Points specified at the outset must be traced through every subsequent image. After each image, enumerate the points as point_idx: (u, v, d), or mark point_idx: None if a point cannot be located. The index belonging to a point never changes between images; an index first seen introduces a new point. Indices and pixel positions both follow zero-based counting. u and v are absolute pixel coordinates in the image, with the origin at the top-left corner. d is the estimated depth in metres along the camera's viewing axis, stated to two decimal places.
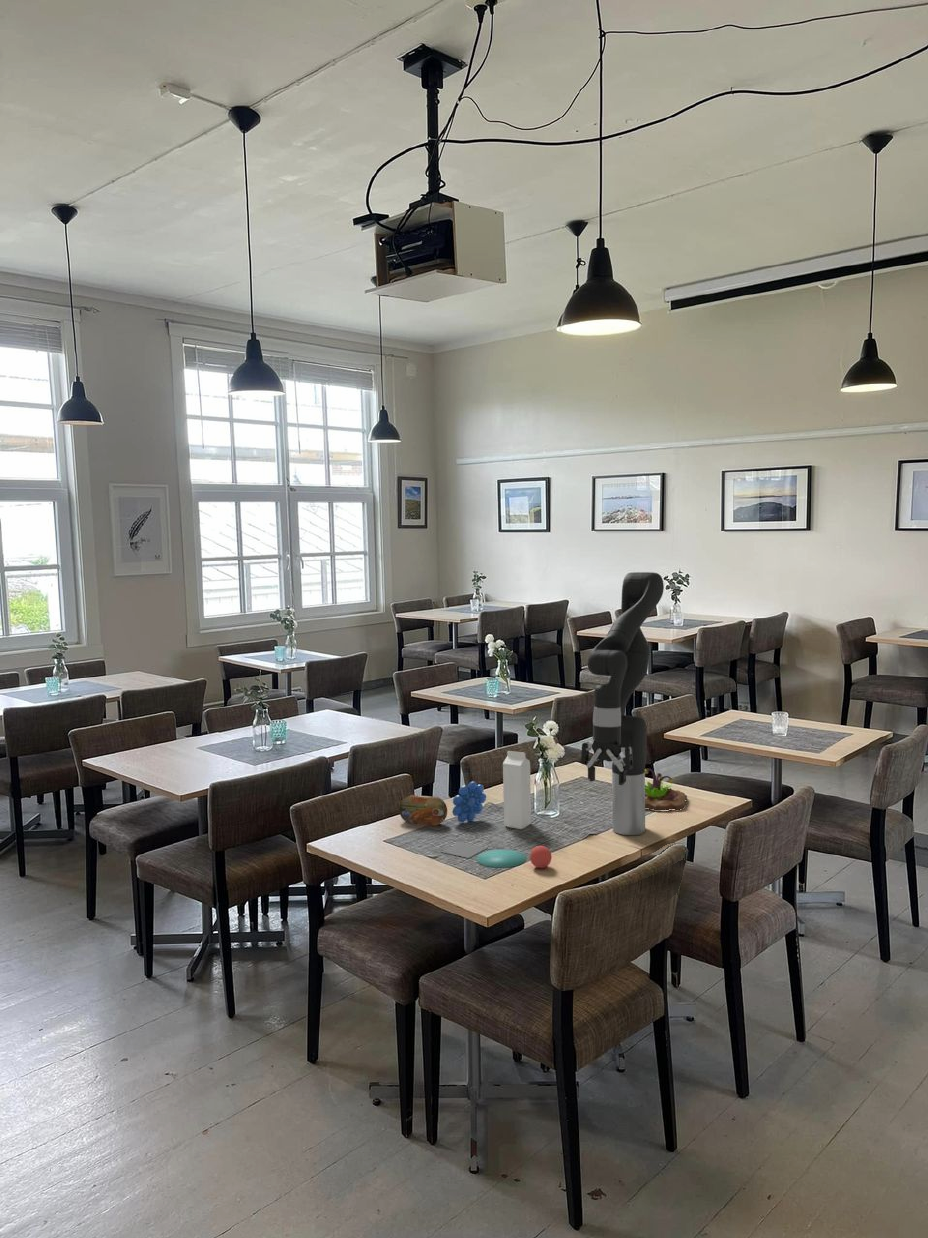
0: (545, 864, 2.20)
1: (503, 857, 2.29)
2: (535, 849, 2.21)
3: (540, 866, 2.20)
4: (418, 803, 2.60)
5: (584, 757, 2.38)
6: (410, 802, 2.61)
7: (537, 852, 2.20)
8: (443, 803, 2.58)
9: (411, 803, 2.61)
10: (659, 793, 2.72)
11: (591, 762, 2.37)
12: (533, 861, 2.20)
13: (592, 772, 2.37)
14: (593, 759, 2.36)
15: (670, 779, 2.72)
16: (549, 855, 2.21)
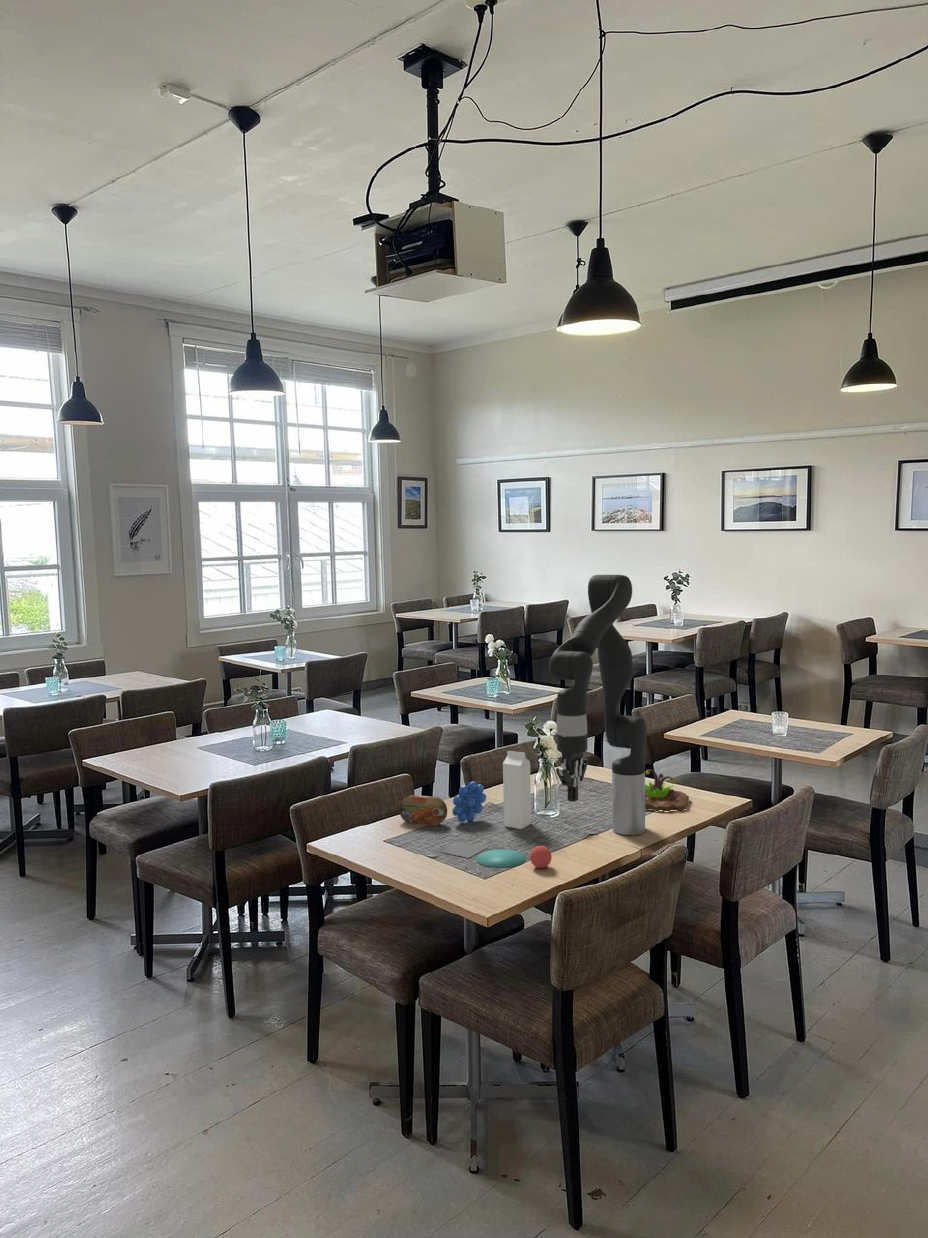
0: (545, 864, 2.20)
1: (503, 857, 2.29)
2: (535, 849, 2.21)
3: (540, 866, 2.20)
4: (418, 803, 2.60)
5: (570, 779, 2.11)
6: (410, 802, 2.61)
7: (537, 852, 2.20)
8: (443, 803, 2.58)
9: (411, 803, 2.61)
10: (661, 794, 2.72)
11: (575, 780, 2.13)
12: (533, 861, 2.20)
13: None
14: (576, 775, 2.13)
15: (672, 780, 2.72)
16: (549, 855, 2.21)
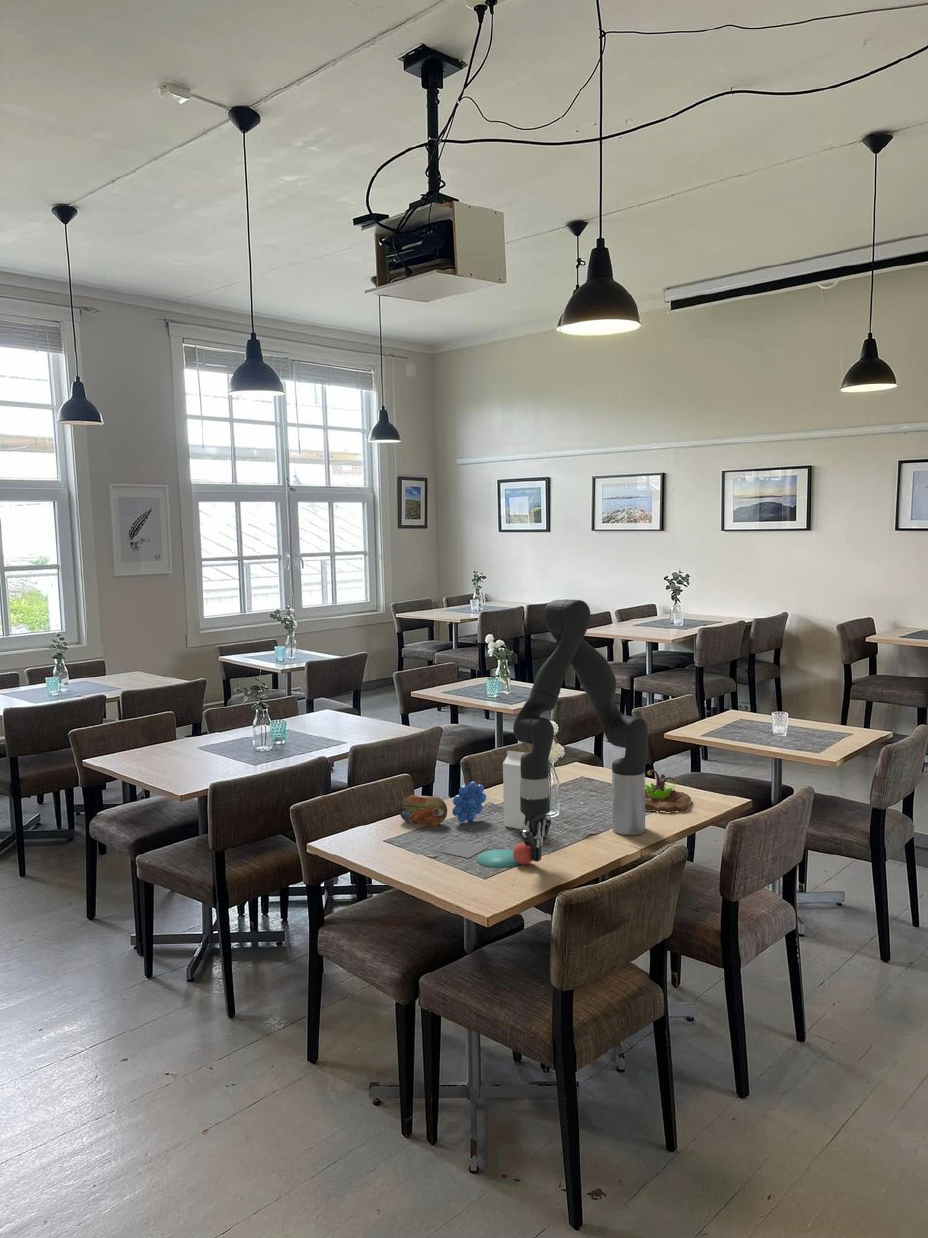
0: (527, 851, 2.22)
1: (503, 857, 2.29)
2: (513, 853, 2.25)
3: (526, 857, 2.22)
4: (418, 803, 2.60)
5: (533, 840, 2.19)
6: (410, 802, 2.61)
7: (514, 851, 2.24)
8: (443, 803, 2.58)
9: (411, 803, 2.61)
10: (662, 794, 2.71)
11: (538, 841, 2.21)
12: (519, 860, 2.23)
13: None
14: (539, 836, 2.20)
15: (674, 780, 2.71)
16: (524, 843, 2.24)
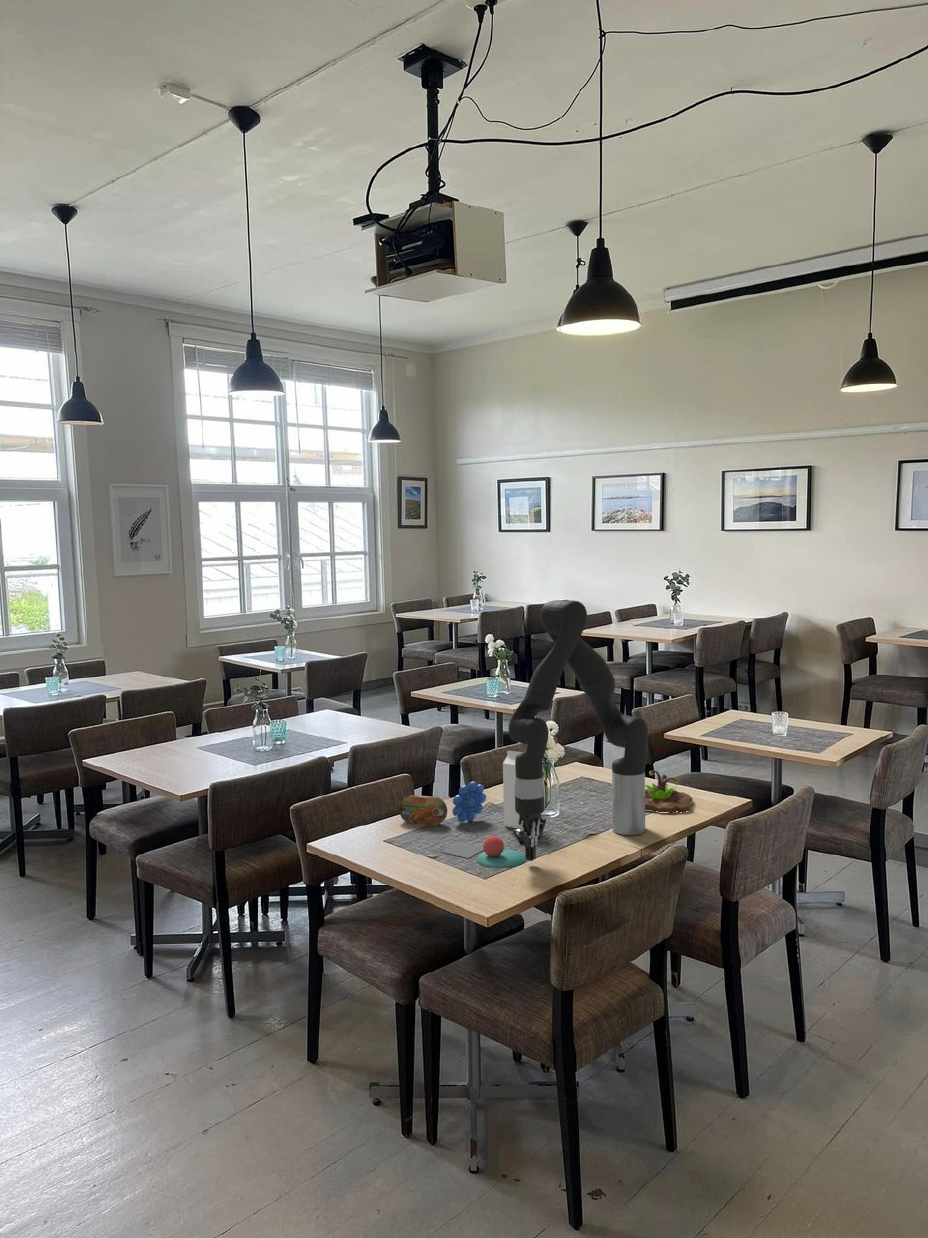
0: None
1: (503, 857, 2.29)
2: (496, 848, 2.28)
3: None
4: (418, 803, 2.60)
5: (527, 839, 2.20)
6: (410, 802, 2.61)
7: (493, 851, 2.28)
8: (443, 803, 2.58)
9: (411, 803, 2.61)
10: (664, 795, 2.70)
11: (532, 840, 2.22)
12: (485, 846, 2.29)
13: None
14: (534, 835, 2.22)
15: (675, 781, 2.70)
16: None
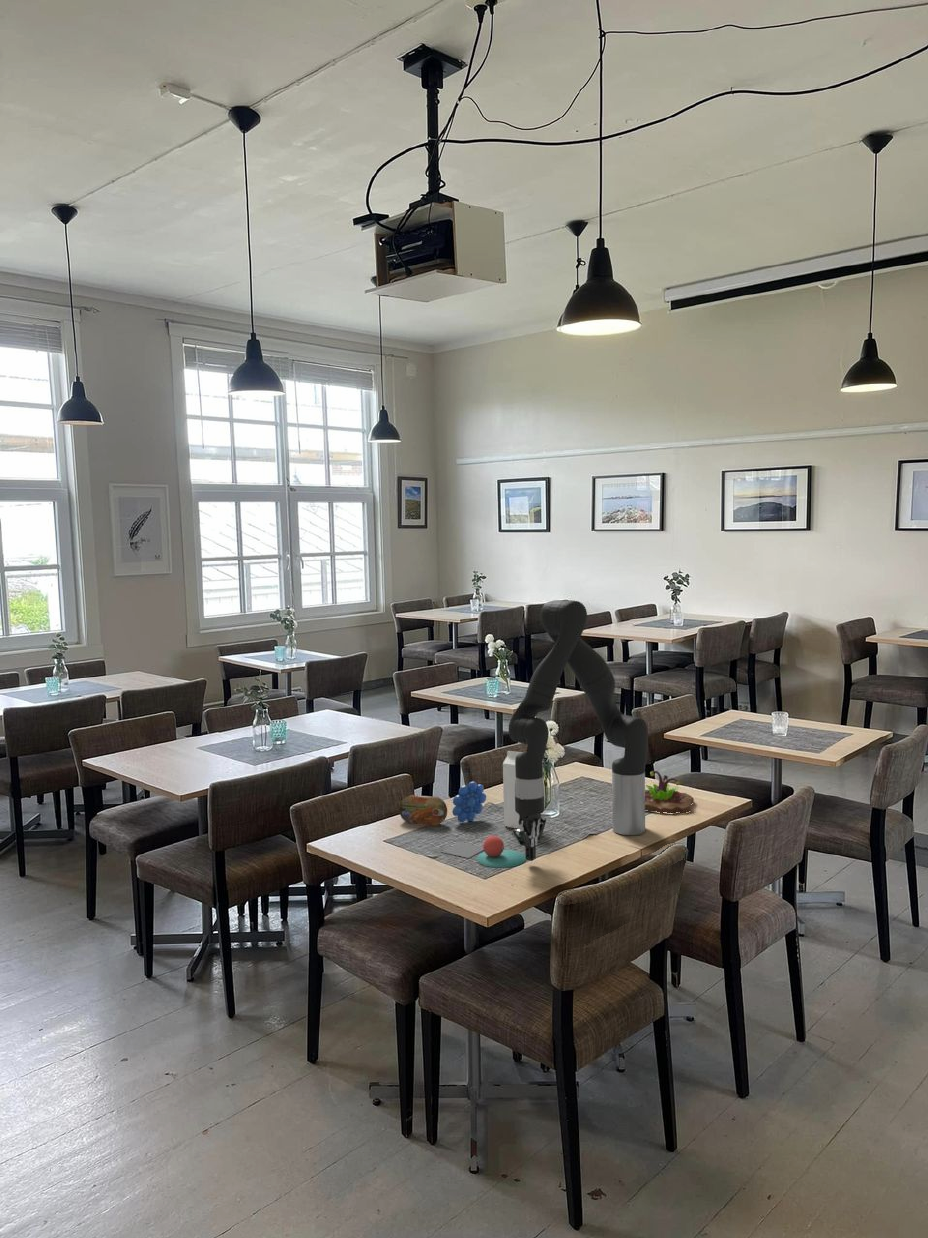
0: None
1: (503, 857, 2.29)
2: (496, 848, 2.28)
3: None
4: (418, 803, 2.60)
5: (527, 839, 2.20)
6: (410, 802, 2.61)
7: (493, 851, 2.28)
8: (443, 803, 2.58)
9: (411, 803, 2.61)
10: (665, 795, 2.69)
11: (532, 840, 2.22)
12: (485, 846, 2.29)
13: None
14: (534, 835, 2.22)
15: (676, 781, 2.70)
16: None
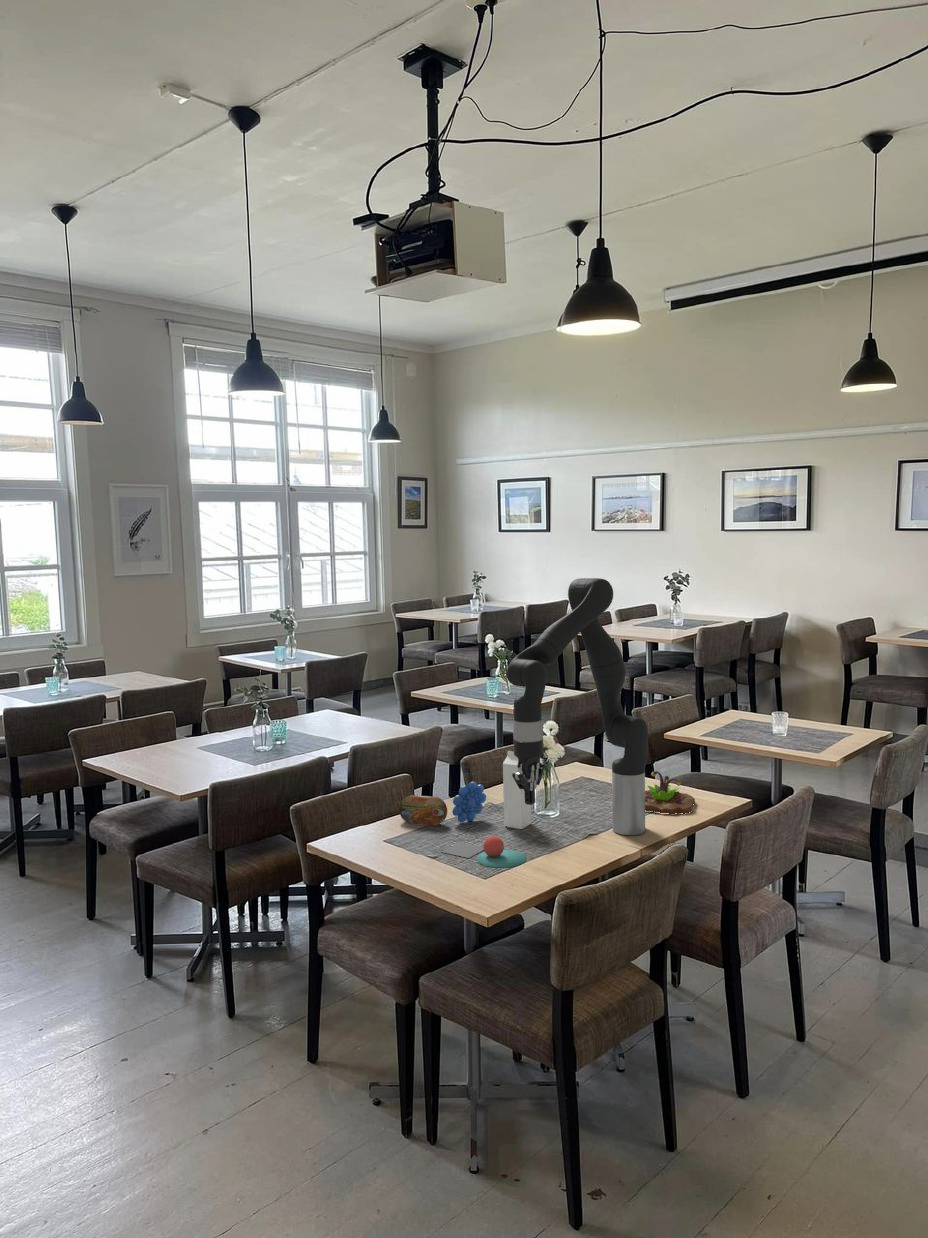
0: None
1: (503, 857, 2.29)
2: (496, 848, 2.28)
3: None
4: (418, 803, 2.60)
5: (526, 783, 2.19)
6: (410, 802, 2.61)
7: (493, 851, 2.28)
8: (443, 803, 2.58)
9: (411, 803, 2.61)
10: (666, 796, 2.69)
11: (531, 784, 2.21)
12: (485, 846, 2.29)
13: None
14: (533, 779, 2.20)
15: (677, 782, 2.69)
16: None
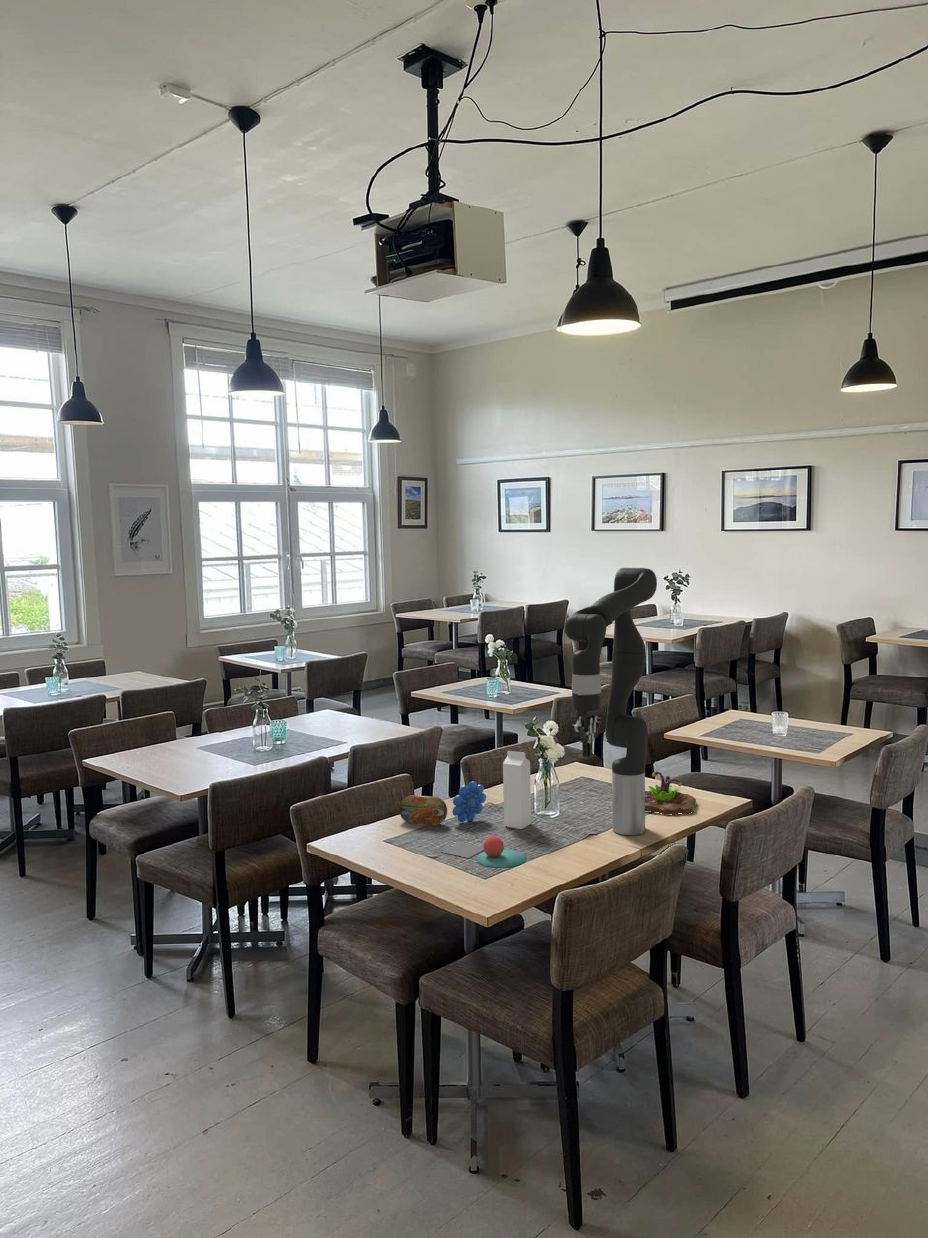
0: None
1: (503, 857, 2.29)
2: (496, 848, 2.28)
3: None
4: (418, 803, 2.60)
5: (585, 735, 2.23)
6: (410, 802, 2.61)
7: (493, 851, 2.28)
8: (443, 803, 2.58)
9: (411, 803, 2.61)
10: (667, 796, 2.68)
11: (589, 736, 2.25)
12: (485, 846, 2.29)
13: None
14: (591, 732, 2.24)
15: (678, 782, 2.68)
16: None
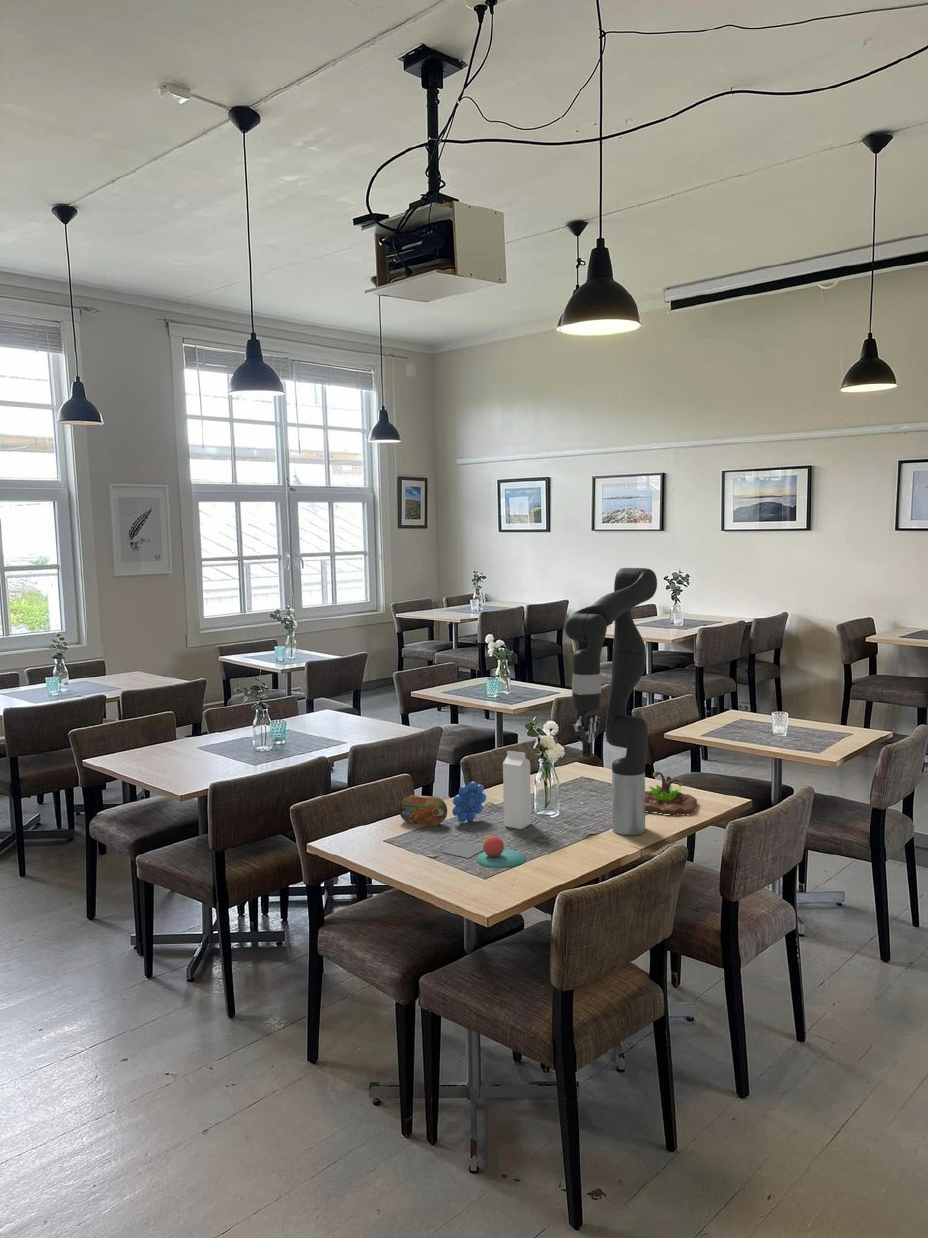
0: None
1: (503, 857, 2.29)
2: (496, 848, 2.28)
3: None
4: (418, 803, 2.60)
5: (585, 735, 2.23)
6: (410, 802, 2.61)
7: (493, 851, 2.28)
8: (443, 803, 2.58)
9: (411, 803, 2.61)
10: (668, 797, 2.68)
11: (589, 736, 2.25)
12: (485, 846, 2.29)
13: None
14: (591, 731, 2.24)
15: (679, 783, 2.68)
16: None
